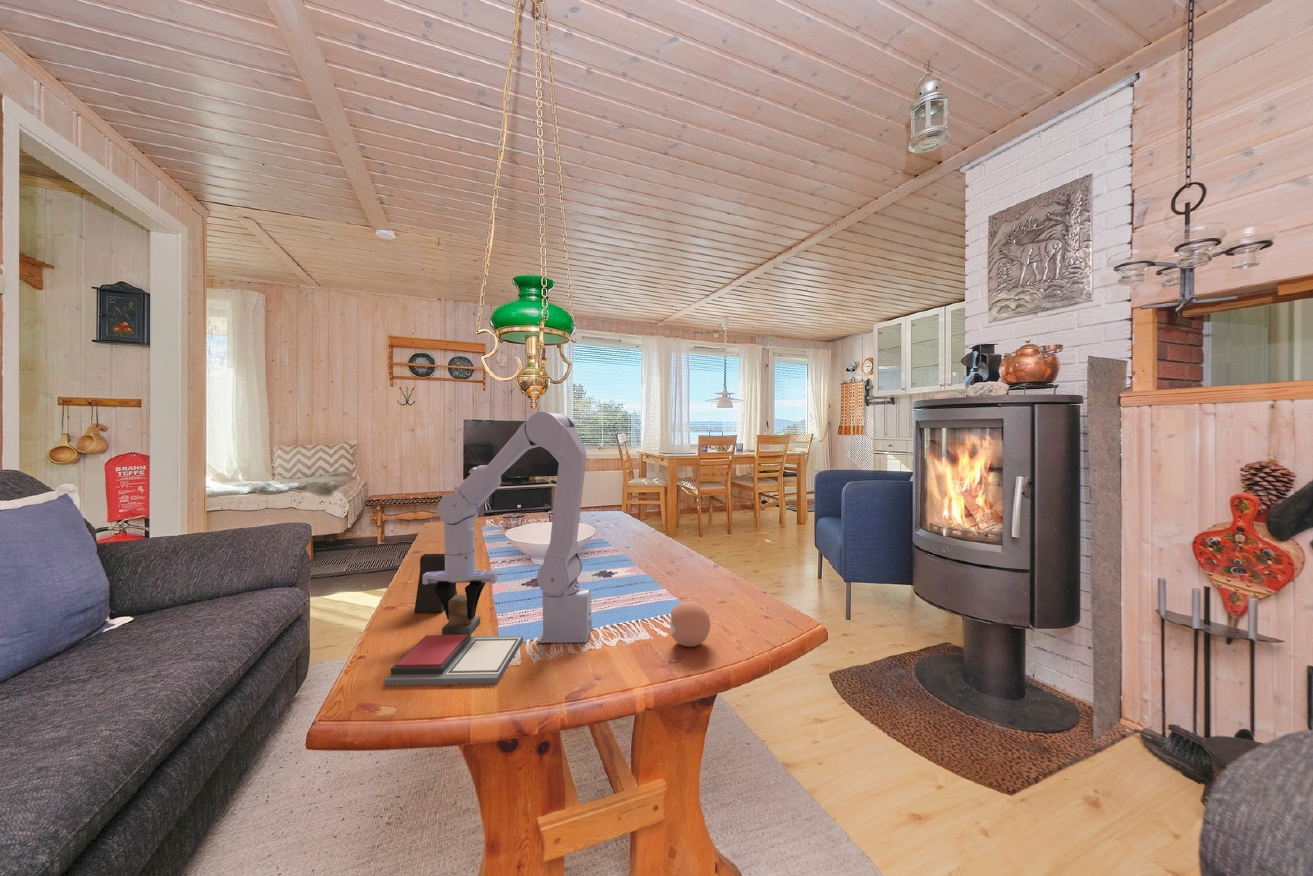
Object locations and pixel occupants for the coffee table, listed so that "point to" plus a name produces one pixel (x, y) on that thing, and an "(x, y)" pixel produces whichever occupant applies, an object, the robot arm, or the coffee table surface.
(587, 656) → the coffee table surface
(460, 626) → the stamp
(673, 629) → the toy ball
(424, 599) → the phone stand
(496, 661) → the stamp board
